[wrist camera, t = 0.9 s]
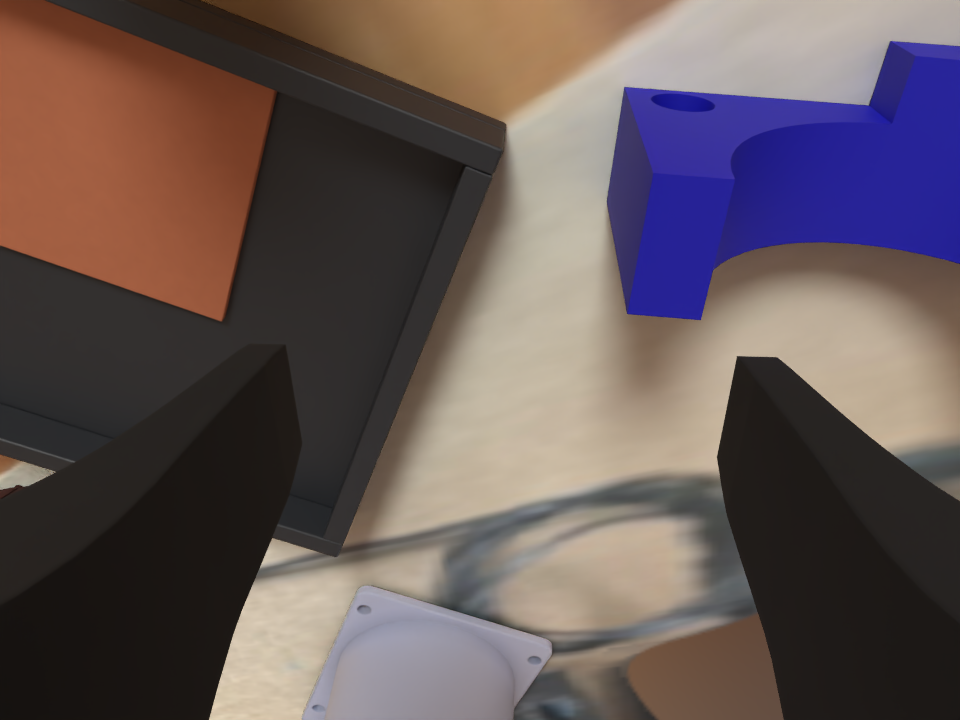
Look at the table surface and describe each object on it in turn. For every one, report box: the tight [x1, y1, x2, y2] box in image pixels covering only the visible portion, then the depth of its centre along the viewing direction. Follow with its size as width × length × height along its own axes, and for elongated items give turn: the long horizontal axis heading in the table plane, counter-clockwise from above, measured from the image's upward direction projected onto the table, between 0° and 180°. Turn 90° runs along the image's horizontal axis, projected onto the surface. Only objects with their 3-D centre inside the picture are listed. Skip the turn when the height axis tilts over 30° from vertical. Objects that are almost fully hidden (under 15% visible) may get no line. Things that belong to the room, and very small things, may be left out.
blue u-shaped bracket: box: [607, 41, 960, 320], centre depth 17 cm, size 12×4×6 cm, turn 87°
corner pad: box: [0, 0, 277, 321], centre depth 21 cm, size 7×10×1 cm
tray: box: [0, 0, 506, 557], centre depth 22 cm, size 15×16×2 cm
